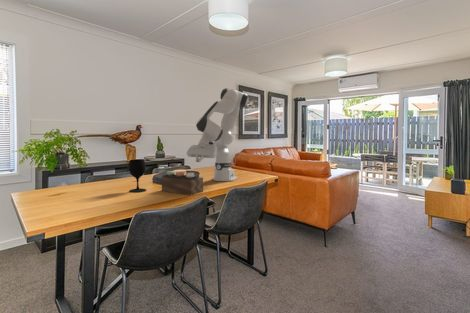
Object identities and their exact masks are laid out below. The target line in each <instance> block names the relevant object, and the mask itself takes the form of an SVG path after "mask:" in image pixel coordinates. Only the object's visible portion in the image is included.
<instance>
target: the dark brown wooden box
mask: <svg viewBox="0 0 470 313" xmlns="http://www.w3.org/2000/svg"><path fill="white" fill-rule="evenodd" d="M166 191H167V192H168V193H175V194H179V193H180V195H186V196H187V195H188V196H193V195H197V194H200V193H202V192H204V177H200V176H194V177H192V178H187V177H186V175H184V176H176V174H175V175H167V174H164V175H162V176H161V192H166ZM167 192H166V193H167Z"/></svg>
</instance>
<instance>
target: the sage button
mask: <svg viewBox="0 0 470 313" xmlns="http://www.w3.org/2000/svg"><path fill="white" fill-rule="evenodd" d="M166 175H176V173H175V171H174V170H167V171H166Z"/></svg>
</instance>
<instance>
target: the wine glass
mask: <svg viewBox="0 0 470 313" xmlns="http://www.w3.org/2000/svg"><path fill="white" fill-rule="evenodd" d="M146 169H147V165H146V161H145V159H143V158H141V159H139V158H137V159H130V160H129V162H128V172H129V174H130V175H131V176H132V177H133V178H135V179H136V180H135V181H136V188H132V189H129V192H130V193H133V194H134V193H143V192H146V191H147V189H146V188H140V186H139V180H140V178H141V177H143V176H144V174H145V172H146Z"/></svg>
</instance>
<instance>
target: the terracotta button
mask: <svg viewBox="0 0 470 313" xmlns="http://www.w3.org/2000/svg"><path fill="white" fill-rule="evenodd" d="M175 175H176V176H185V172H184V171H176V173H175Z"/></svg>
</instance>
